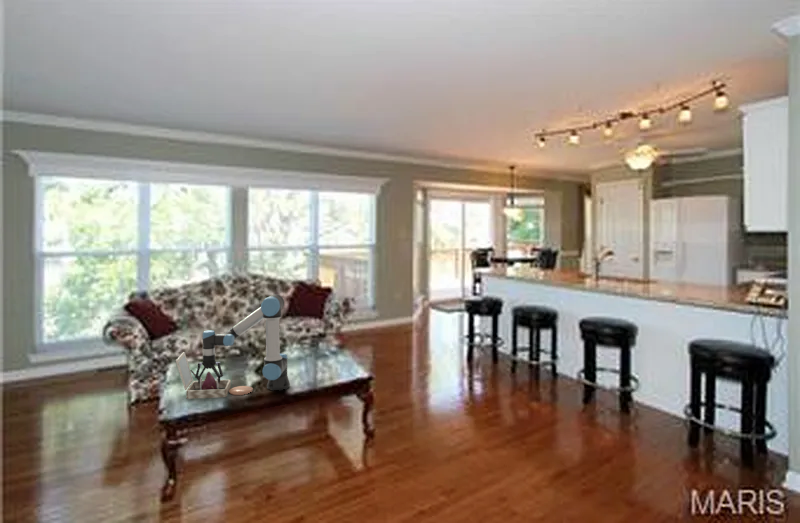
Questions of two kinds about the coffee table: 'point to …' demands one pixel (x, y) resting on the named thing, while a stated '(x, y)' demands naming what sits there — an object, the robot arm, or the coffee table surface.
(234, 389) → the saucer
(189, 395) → the cold frame
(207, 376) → the dark red pyramid
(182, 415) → the coffee table surface
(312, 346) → the coffee table surface
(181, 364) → the lid
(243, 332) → the robot arm
